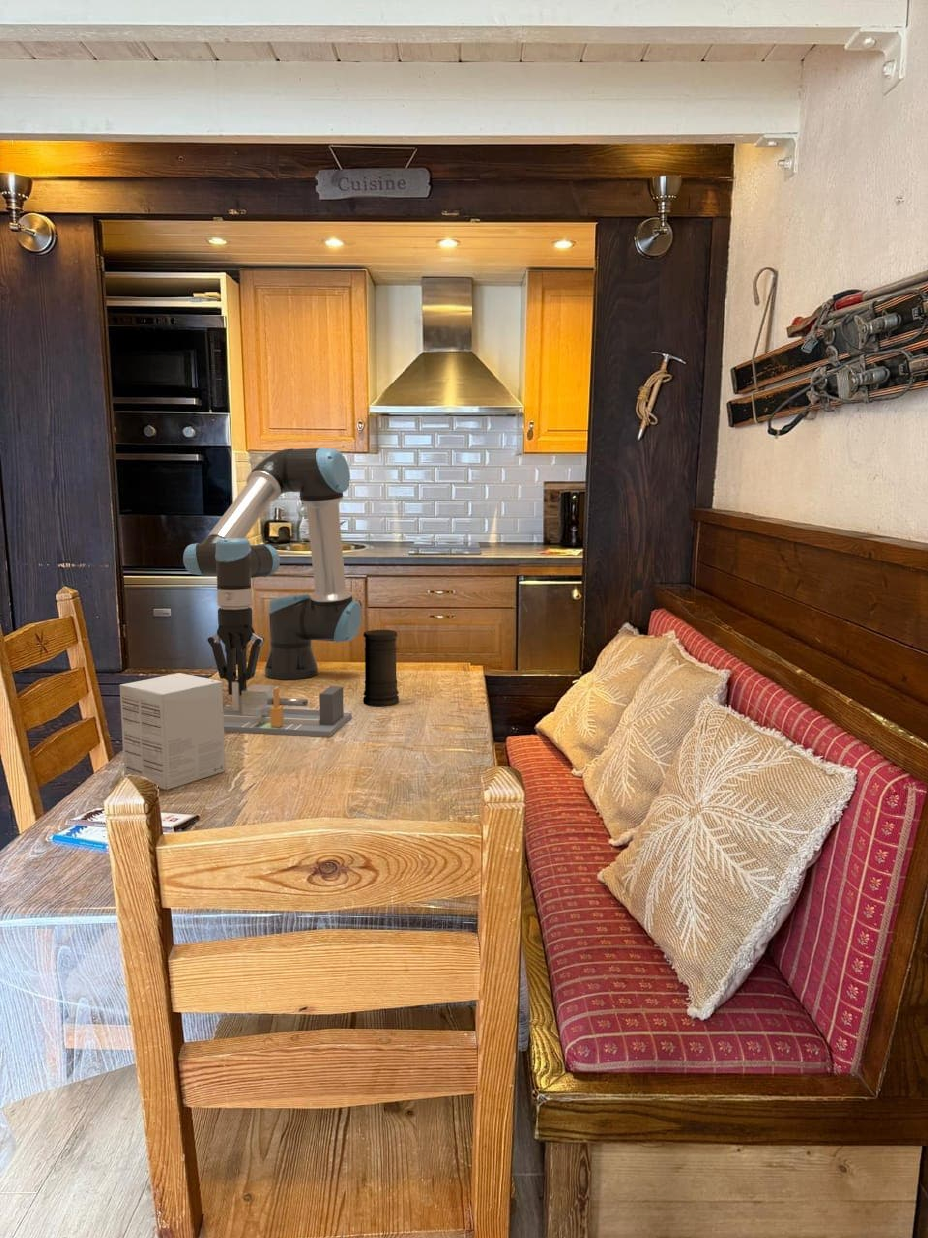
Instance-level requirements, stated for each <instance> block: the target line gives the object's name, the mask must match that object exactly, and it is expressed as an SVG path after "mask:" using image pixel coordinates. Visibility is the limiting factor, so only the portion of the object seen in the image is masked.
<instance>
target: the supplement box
mask: <svg viewBox="0 0 928 1238" xmlns="http://www.w3.org/2000/svg"><path fill="white" fill-rule="evenodd" d="M118 686H119V701H120V703H119V704H120V717H121V719H120V720H121V721H120V722H121V738H122V742H121V743H122V759H123V760H122V761H123V774H124V775H128V774H131V775H139V776H143V777H146V778H148V779H149V780H151V781H153V782H155V783H157V785H158V786H159V788H158V789H161V790H165V791H168V790H171V789H174V788H177V787H178V788H179V787H180V786H184V785H187V784H189V783H193V782H196V781H199V780H202V779H205V778H208V777H211V776H214V775H218V774H221V773H224V772H225V771H226V770H227V769H226V768H227V767H226V764H227V763H226V746H225V732H224V718H223V707H224V701H223V700H224V697H223V695H224V694H223V681H221V680H217V679H212V678H207V677H202V676H196V675H192V674H186V673H180V672H177V673H176V672H175V673H173V674H168V675H163V676H157V677H153V678H152V677H151V678H148V679H143V680H138V681H134V682H128V683H122V684H119V685H118Z"/></svg>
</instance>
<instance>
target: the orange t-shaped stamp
mask: <svg viewBox="0 0 928 1238" xmlns="http://www.w3.org/2000/svg"><path fill="white" fill-rule="evenodd" d="M273 697H274V707H272V708H270V717H271V726H272V727H280V726H281V725H283V708H284V705H279V698H280V686H279V687H275V688H274V689H273Z"/></svg>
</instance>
